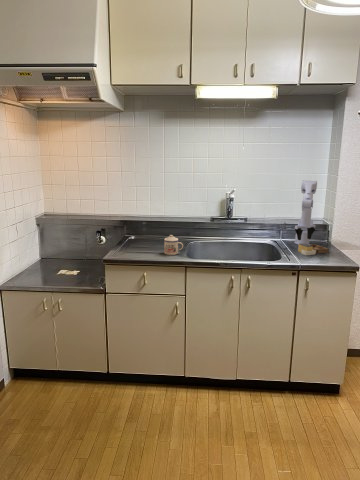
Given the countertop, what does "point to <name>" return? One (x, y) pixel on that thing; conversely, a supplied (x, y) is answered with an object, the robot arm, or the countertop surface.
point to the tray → (319, 249)
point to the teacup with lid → (171, 245)
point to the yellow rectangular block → (304, 247)
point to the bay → (308, 252)
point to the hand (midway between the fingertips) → (304, 239)
